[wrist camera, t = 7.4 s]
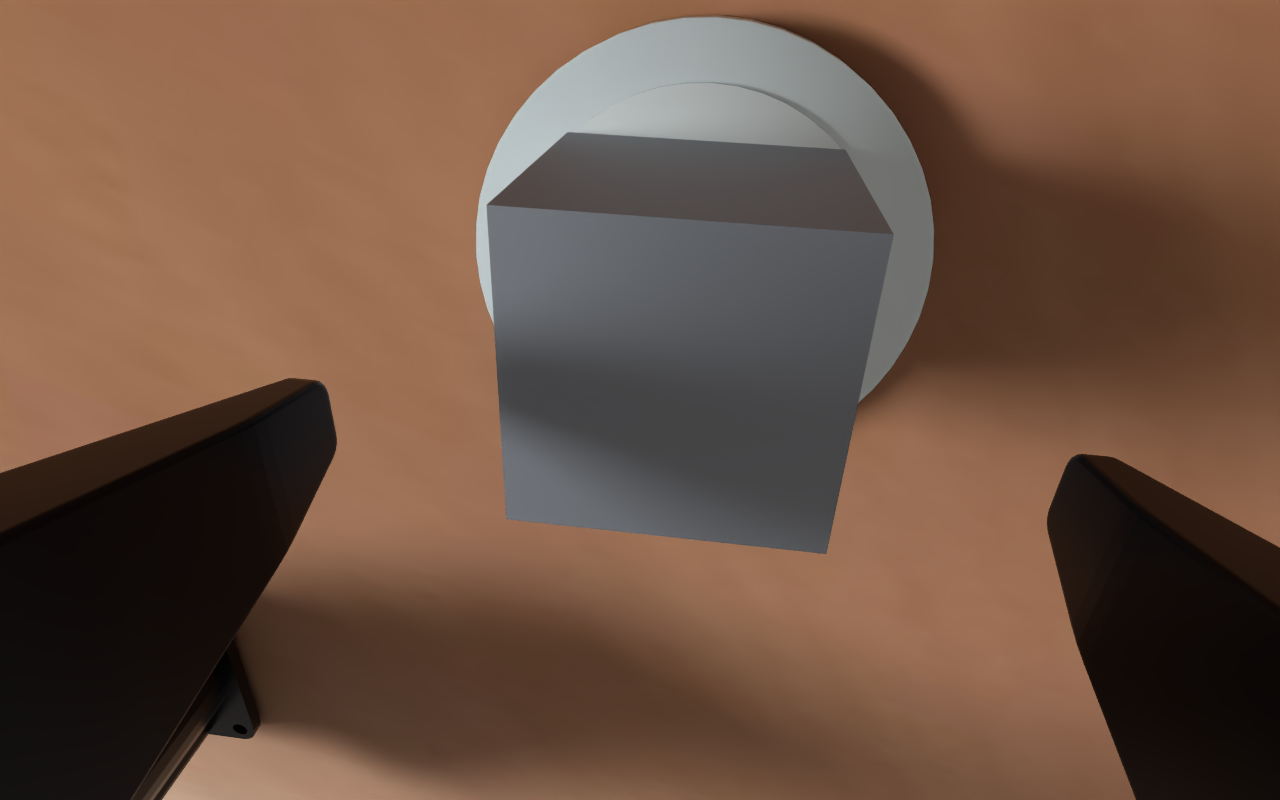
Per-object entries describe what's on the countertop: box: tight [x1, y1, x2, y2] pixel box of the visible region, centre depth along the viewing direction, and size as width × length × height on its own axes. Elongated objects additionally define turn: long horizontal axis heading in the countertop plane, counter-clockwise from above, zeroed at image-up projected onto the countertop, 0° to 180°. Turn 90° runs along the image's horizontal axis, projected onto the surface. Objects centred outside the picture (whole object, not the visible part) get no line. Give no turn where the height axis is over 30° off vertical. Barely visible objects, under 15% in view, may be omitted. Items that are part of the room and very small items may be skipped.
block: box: [486, 132, 894, 554], centre depth 13 cm, size 5×5×5 cm
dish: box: [476, 15, 934, 403], centre depth 15 cm, size 9×9×1 cm
